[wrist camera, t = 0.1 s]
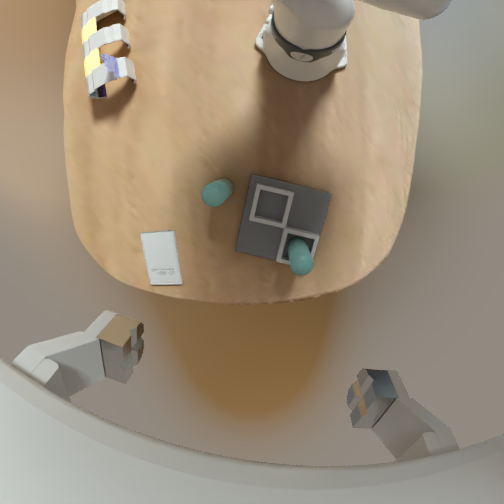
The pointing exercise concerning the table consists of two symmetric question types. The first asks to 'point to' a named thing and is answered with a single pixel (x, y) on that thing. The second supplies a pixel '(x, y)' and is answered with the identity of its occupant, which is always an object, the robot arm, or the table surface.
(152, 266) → the external hard drive
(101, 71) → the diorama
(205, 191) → the jaw peg
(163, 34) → the table surface
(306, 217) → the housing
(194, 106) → the table surface
